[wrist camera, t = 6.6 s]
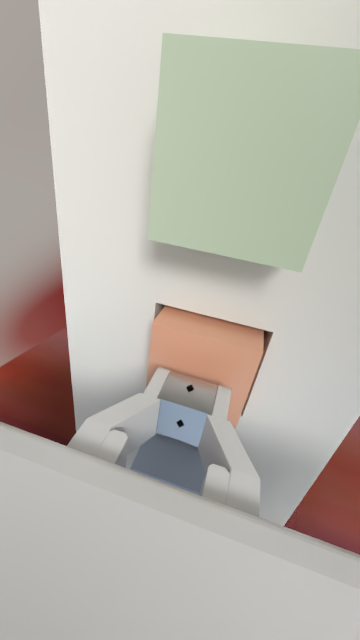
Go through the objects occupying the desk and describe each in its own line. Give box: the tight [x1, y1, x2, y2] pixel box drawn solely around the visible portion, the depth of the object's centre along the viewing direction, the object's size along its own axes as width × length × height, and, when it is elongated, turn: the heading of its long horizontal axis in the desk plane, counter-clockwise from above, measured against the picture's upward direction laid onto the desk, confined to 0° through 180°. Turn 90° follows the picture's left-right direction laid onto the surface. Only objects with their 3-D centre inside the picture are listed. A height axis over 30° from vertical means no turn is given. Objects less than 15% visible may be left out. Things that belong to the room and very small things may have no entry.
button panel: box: [38, 0, 360, 526], centre depth 18 cm, size 10×14×30 cm
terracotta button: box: [146, 305, 264, 429], centre depth 14 cm, size 5×4×4 cm
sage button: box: [147, 33, 360, 272], centre depth 9 cm, size 5×4×4 cm
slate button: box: [130, 433, 206, 495], centre depth 17 cm, size 5×4×4 cm
